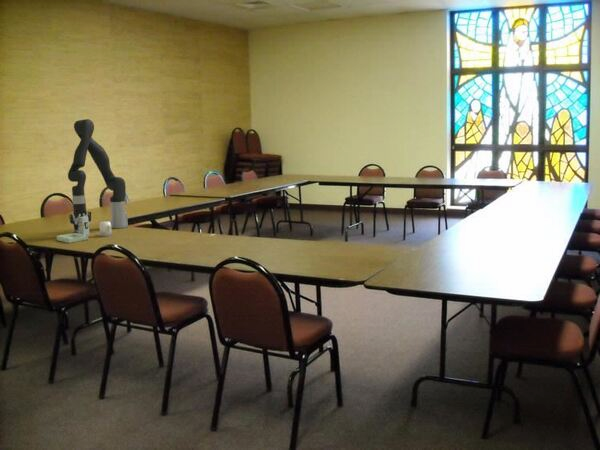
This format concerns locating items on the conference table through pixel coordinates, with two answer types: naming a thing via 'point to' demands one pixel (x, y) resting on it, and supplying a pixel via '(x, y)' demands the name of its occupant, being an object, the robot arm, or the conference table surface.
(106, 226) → the mug
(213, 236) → the conference table surface
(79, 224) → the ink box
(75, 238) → the tray
